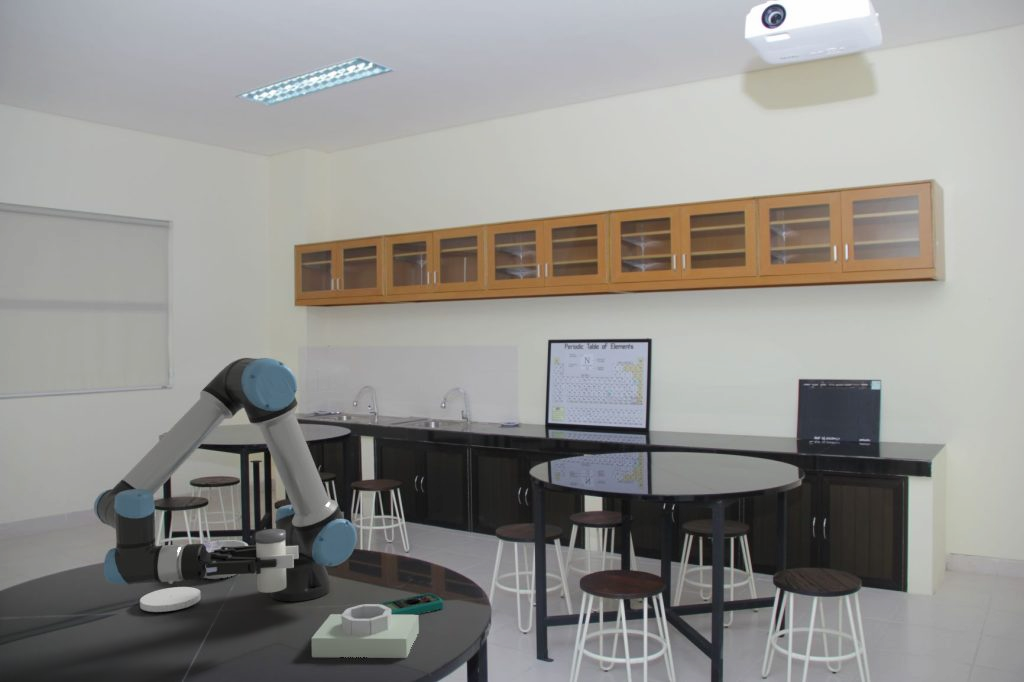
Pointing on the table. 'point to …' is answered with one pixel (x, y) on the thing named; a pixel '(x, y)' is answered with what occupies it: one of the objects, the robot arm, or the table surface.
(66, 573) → the table surface
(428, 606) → the digital multimeter
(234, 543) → the paper bowls
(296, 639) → the table surface
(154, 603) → the plastic lid
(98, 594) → the table surface
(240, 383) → the robot arm
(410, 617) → the octagonal ring base plate
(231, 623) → the table surface
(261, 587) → the white grey-capped cylinder
